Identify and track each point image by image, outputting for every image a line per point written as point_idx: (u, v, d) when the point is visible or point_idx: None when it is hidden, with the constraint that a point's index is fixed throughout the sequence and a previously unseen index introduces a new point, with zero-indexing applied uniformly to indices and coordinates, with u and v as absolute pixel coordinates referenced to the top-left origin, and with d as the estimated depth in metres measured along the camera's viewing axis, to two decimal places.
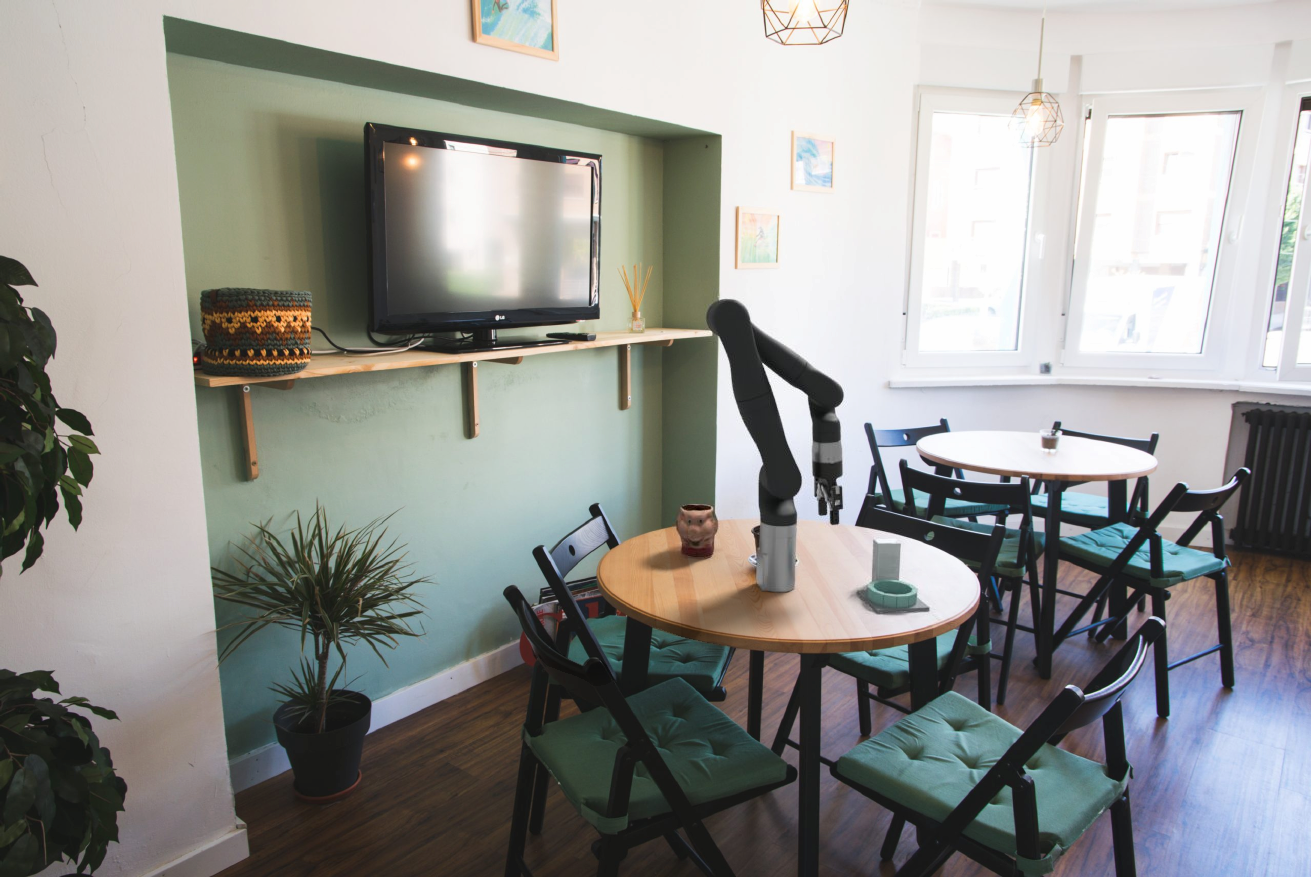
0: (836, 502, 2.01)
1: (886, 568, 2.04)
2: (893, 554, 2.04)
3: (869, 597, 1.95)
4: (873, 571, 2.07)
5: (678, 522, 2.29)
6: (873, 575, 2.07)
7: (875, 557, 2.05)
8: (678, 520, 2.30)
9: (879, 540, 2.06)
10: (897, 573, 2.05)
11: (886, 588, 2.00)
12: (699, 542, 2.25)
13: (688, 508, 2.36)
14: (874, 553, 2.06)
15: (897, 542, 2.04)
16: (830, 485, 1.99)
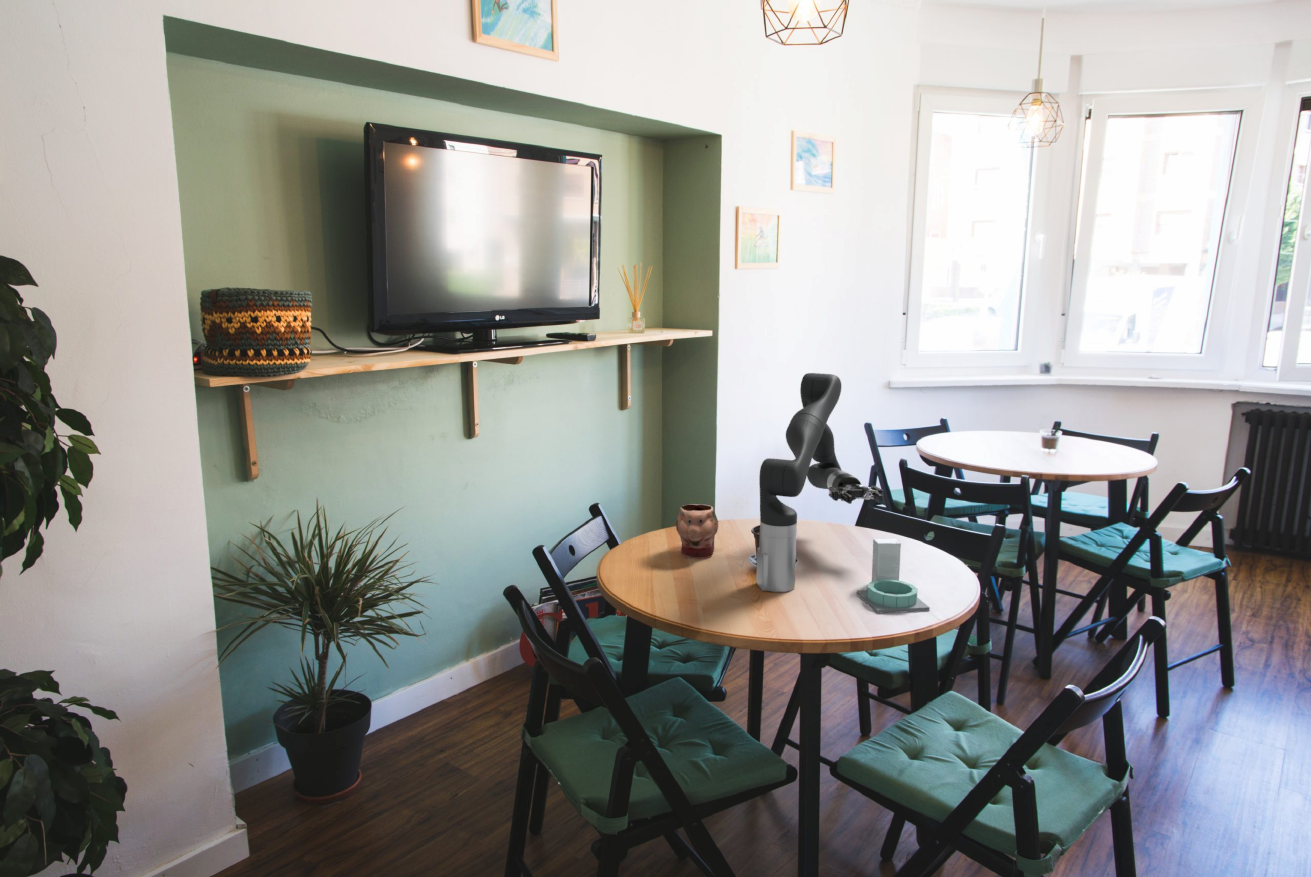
0: (870, 496, 2.24)
1: (886, 568, 2.04)
2: (894, 554, 2.04)
3: (869, 597, 1.95)
4: (873, 571, 2.07)
5: (678, 522, 2.29)
6: (873, 575, 2.07)
7: (875, 557, 2.05)
8: (678, 520, 2.30)
9: (879, 540, 2.06)
10: (897, 573, 2.05)
11: (886, 588, 2.00)
12: (699, 542, 2.25)
13: (688, 508, 2.36)
14: (874, 553, 2.06)
15: (897, 542, 2.04)
16: None
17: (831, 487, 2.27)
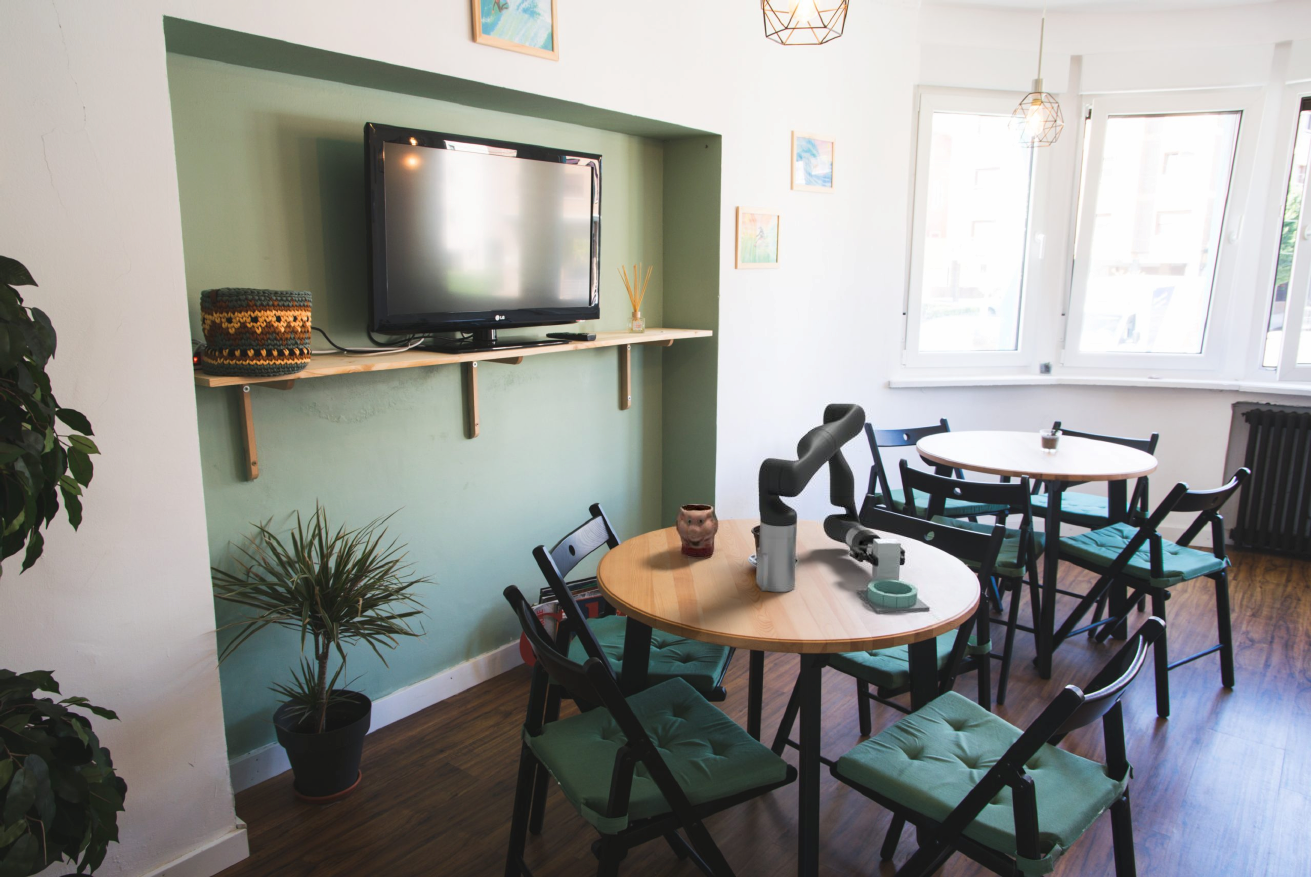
0: None
1: (886, 568, 2.04)
2: (893, 554, 2.04)
3: (869, 597, 1.95)
4: (873, 571, 2.07)
5: (678, 522, 2.29)
6: (873, 575, 2.07)
7: None
8: (678, 520, 2.30)
9: (879, 540, 2.06)
10: (897, 573, 2.05)
11: (886, 588, 2.00)
12: (699, 542, 2.25)
13: (688, 508, 2.36)
14: (874, 553, 2.06)
15: (897, 542, 2.04)
16: None
17: (852, 547, 2.12)
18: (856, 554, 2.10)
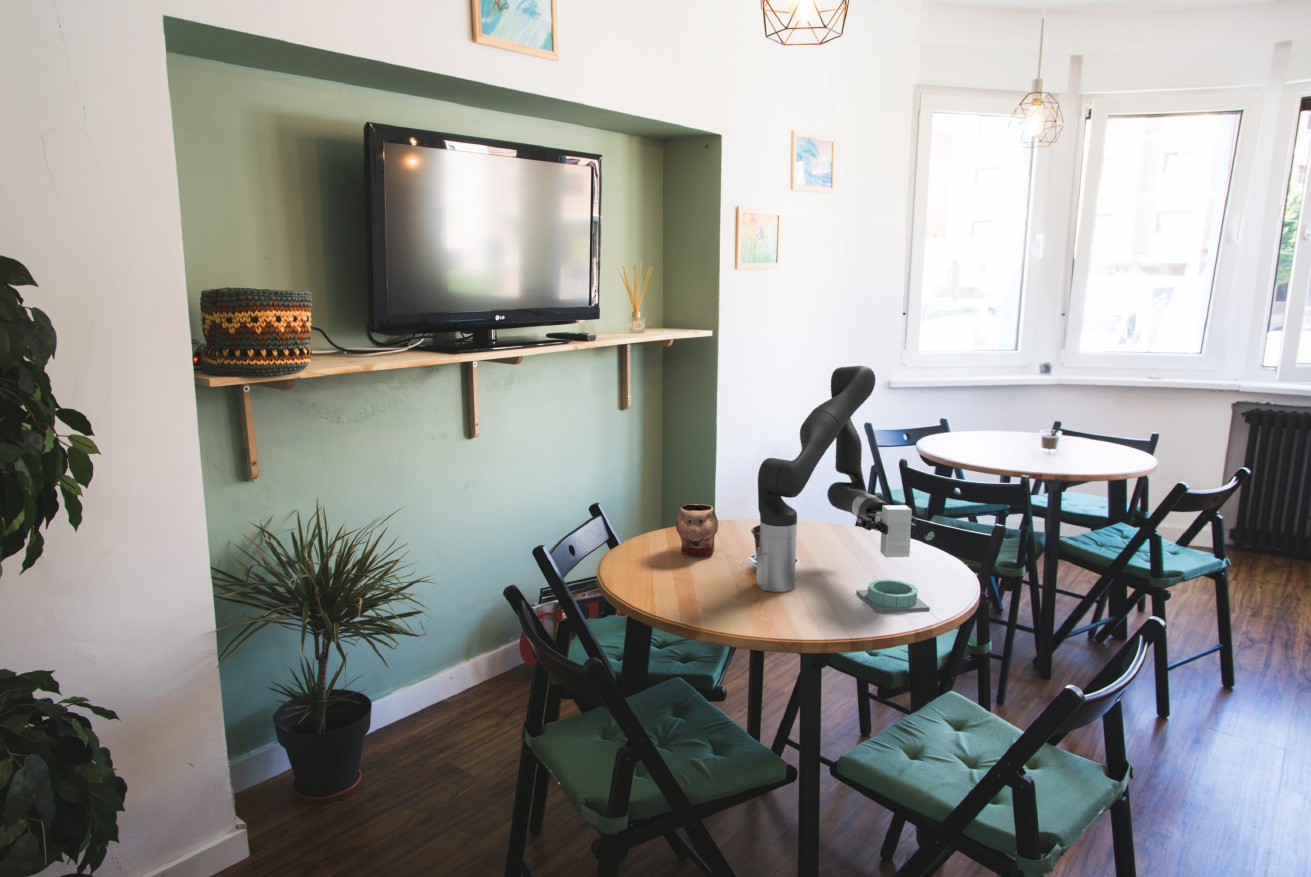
0: None
1: (896, 536, 1.92)
2: (904, 521, 1.91)
3: (869, 597, 1.95)
4: (882, 540, 1.94)
5: (678, 522, 2.29)
6: (882, 544, 1.95)
7: None
8: (678, 520, 2.30)
9: (889, 506, 1.93)
10: (908, 541, 1.92)
11: (886, 588, 2.00)
12: (699, 542, 2.25)
13: (688, 508, 2.36)
14: (883, 520, 1.94)
15: (908, 508, 1.92)
16: None
17: (860, 514, 1.99)
18: (864, 522, 1.97)
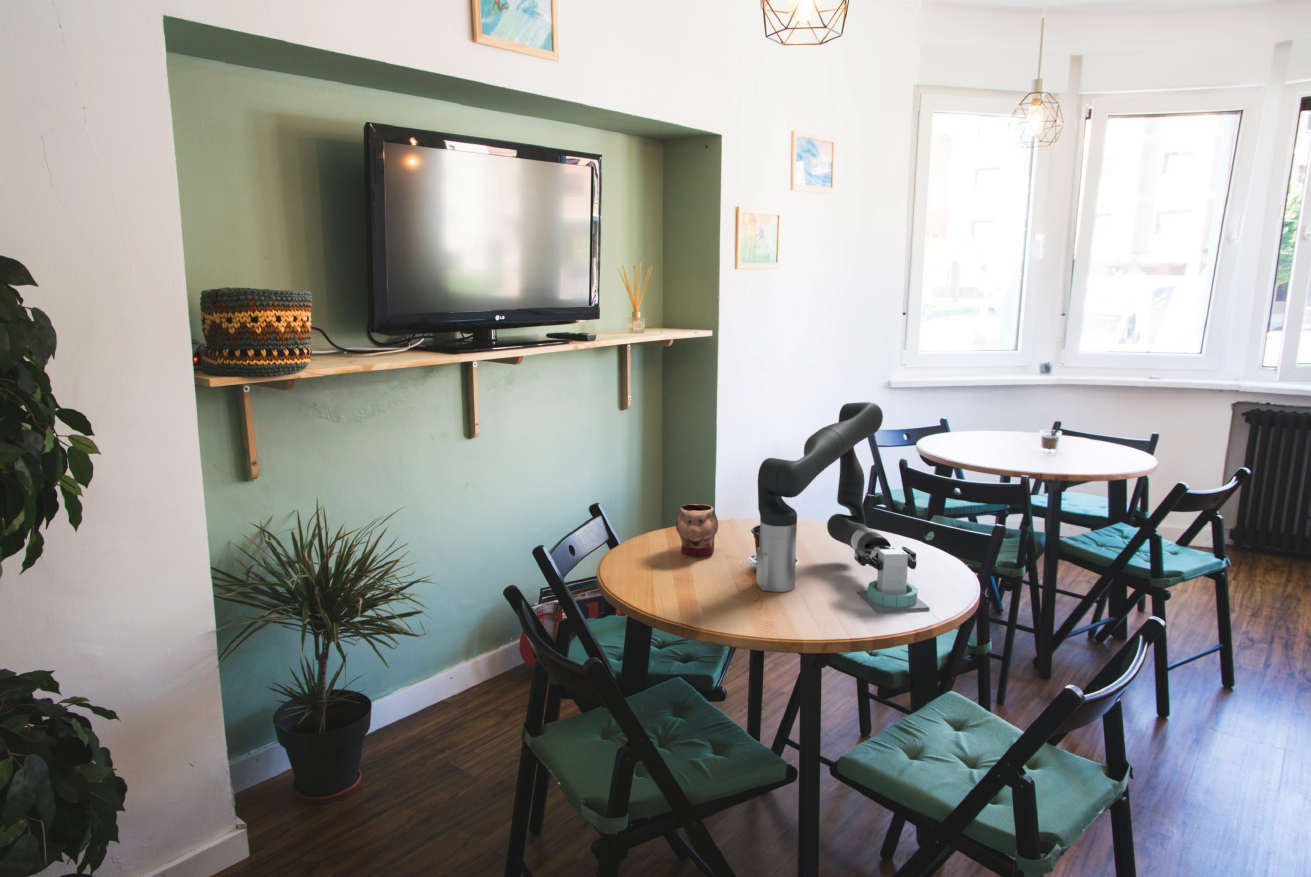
0: None
1: (892, 580, 1.93)
2: (900, 565, 1.93)
3: (869, 597, 1.95)
4: (879, 583, 1.96)
5: (678, 522, 2.29)
6: (879, 588, 1.96)
7: None
8: (678, 520, 2.30)
9: (885, 550, 1.95)
10: (904, 585, 1.94)
11: None
12: (699, 542, 2.25)
13: (688, 508, 2.36)
14: None
15: (904, 553, 1.93)
16: None
17: (857, 549, 2.01)
18: (859, 557, 1.98)
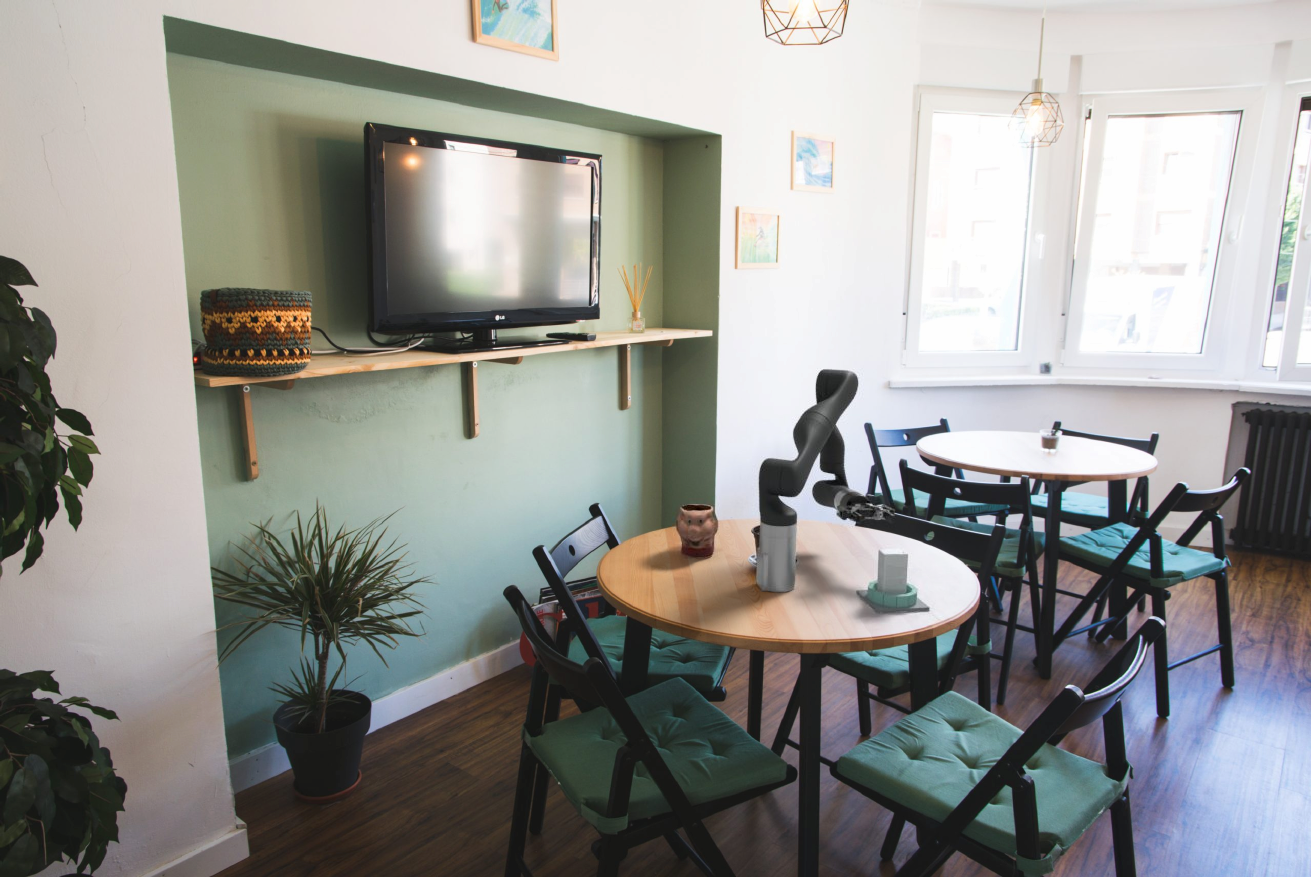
0: (881, 516, 2.10)
1: (892, 580, 1.93)
2: (900, 565, 1.93)
3: (869, 597, 1.95)
4: (879, 583, 1.96)
5: (678, 522, 2.29)
6: (879, 588, 1.96)
7: (881, 568, 1.94)
8: (678, 520, 2.30)
9: (885, 550, 1.95)
10: (904, 585, 1.94)
11: None
12: (699, 542, 2.25)
13: (688, 508, 2.36)
14: (880, 564, 1.95)
15: (904, 553, 1.93)
16: None
17: (839, 506, 2.12)
18: (841, 512, 2.09)
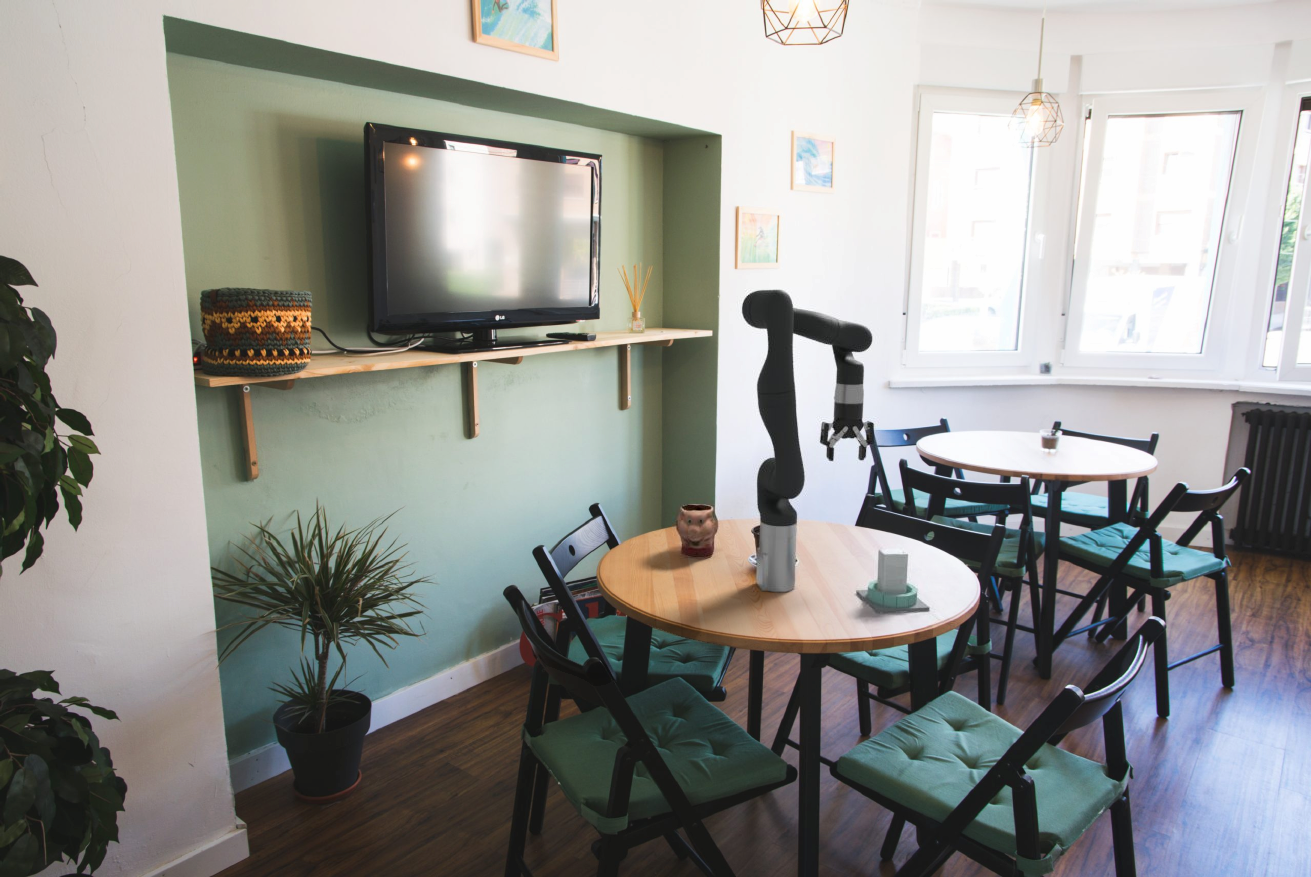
0: None
1: (892, 580, 1.93)
2: (900, 565, 1.93)
3: (869, 597, 1.95)
4: (879, 583, 1.96)
5: (678, 522, 2.29)
6: (879, 588, 1.96)
7: (881, 568, 1.94)
8: (678, 520, 2.30)
9: (885, 550, 1.95)
10: (904, 585, 1.94)
11: None
12: (699, 542, 2.25)
13: (688, 508, 2.36)
14: (880, 564, 1.95)
15: (904, 553, 1.93)
16: (863, 423, 2.14)
17: (826, 426, 2.12)
18: (823, 435, 2.14)
